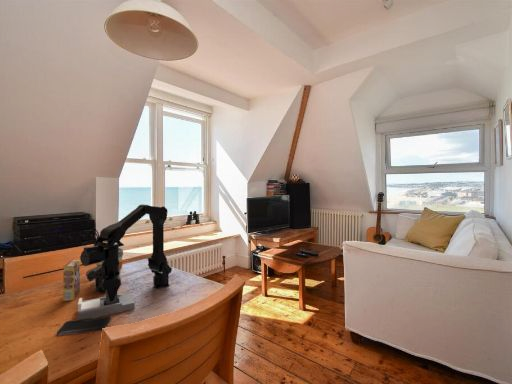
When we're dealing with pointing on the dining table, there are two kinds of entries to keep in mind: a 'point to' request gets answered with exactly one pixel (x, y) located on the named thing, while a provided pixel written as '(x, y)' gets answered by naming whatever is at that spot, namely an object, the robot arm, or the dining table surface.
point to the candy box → (71, 280)
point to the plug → (109, 299)
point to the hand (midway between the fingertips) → (111, 296)
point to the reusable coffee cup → (119, 260)
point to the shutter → (88, 304)
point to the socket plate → (108, 307)
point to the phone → (84, 325)
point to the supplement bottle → (99, 284)
